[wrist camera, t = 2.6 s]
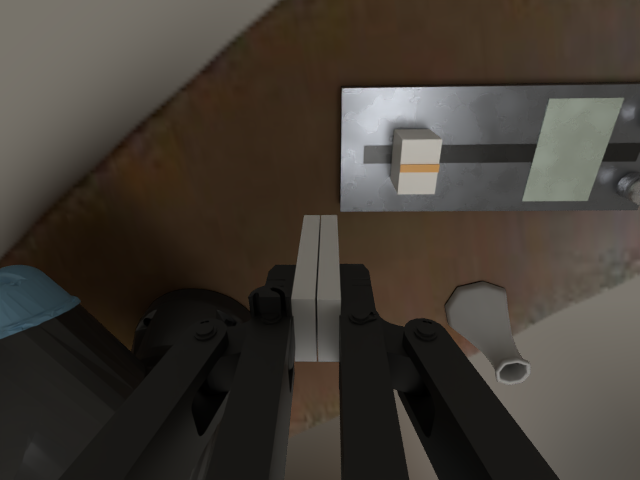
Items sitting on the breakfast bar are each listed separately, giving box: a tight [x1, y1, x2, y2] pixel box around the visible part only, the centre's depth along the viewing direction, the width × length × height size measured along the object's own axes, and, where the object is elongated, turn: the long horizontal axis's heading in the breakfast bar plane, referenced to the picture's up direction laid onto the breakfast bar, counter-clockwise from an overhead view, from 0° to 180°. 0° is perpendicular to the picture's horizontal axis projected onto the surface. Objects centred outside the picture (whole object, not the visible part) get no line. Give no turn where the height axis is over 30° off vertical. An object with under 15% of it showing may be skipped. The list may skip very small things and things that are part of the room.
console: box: [340, 82, 640, 211], centre depth 31 cm, size 28×11×5 cm, turn 91°
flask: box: [445, 282, 531, 385], centre depth 38 cm, size 7×7×10 cm
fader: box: [390, 129, 442, 194], centre depth 30 cm, size 3×4×4 cm
